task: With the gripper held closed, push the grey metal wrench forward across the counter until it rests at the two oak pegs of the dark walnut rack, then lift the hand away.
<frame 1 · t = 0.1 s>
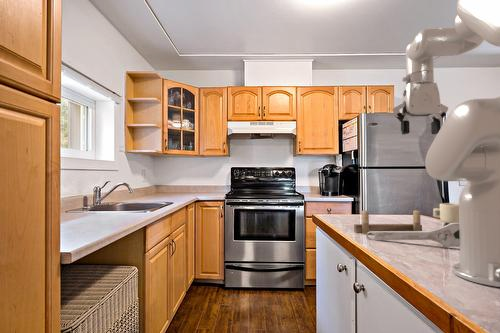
hand: (420, 133, 88), 37 cm above the table, tool pointing down, fingers open, 9 cm apart
character mug: (452, 242, 94), on the table
wrench: (413, 245, 92), on the table
peg rack: (389, 232, 109), on the table
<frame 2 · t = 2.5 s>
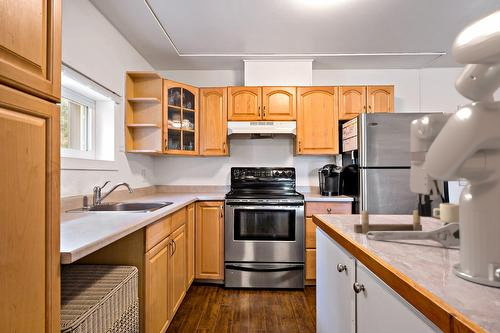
hand: (424, 216, 86), 10 cm above the table, tool pointing down, fingers closed
nothing on the table moved.
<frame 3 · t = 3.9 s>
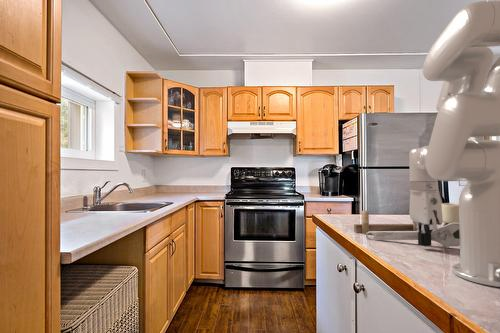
hand: (424, 245, 86), 1 cm above the table, tool pointing down, fingers closed
nothing on the table moved.
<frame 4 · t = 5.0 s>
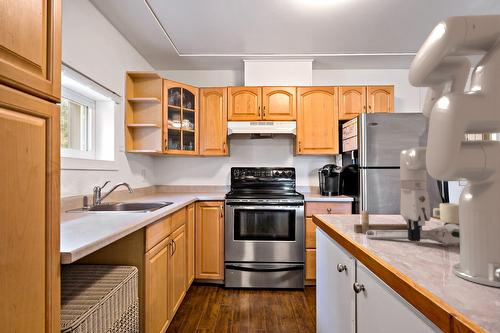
hand: (414, 240, 92), 1 cm above the table, tool pointing down, fingers closed
character mug: (452, 242, 94), on the table, touching wrench
wrench: (412, 242, 93), on the table, touching character mug, gripper
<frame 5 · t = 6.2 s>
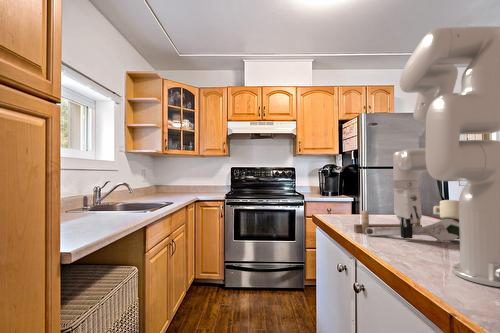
hand: (406, 237, 96), 1 cm above the table, tool pointing down, fingers closed
character mug: (452, 239, 95), point 1 cm above the table
wrench: (410, 240, 97), on the table, touching gripper
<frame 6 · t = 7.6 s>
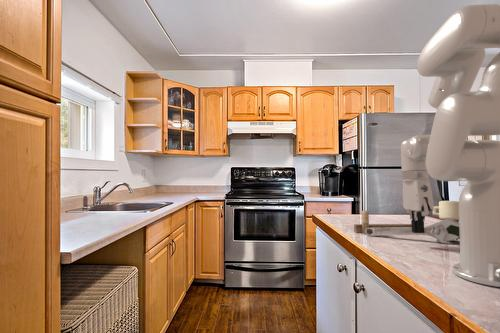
hand: (418, 232, 89), 4 cm above the table, tool pointing down, fingers closed
wrench: (409, 240, 97), on the table
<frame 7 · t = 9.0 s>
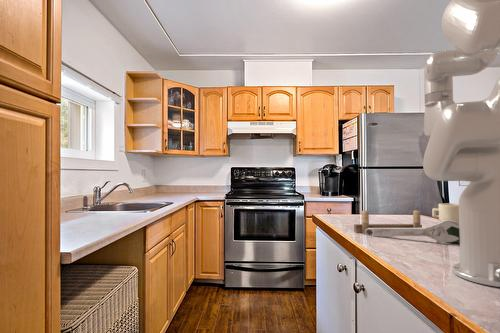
hand: (439, 156, 87), 29 cm above the table, tool pointing down, fingers closed
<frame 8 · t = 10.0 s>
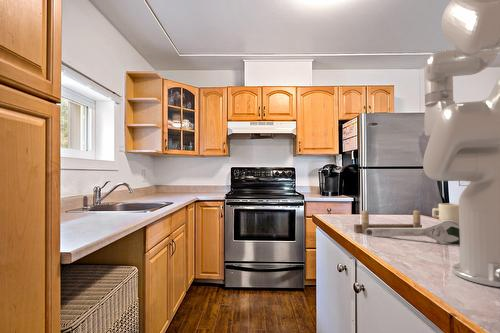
hand: (440, 156, 87), 29 cm above the table, tool pointing down, fingers closed
at the end: wrench moved 5.8 cm from its start; wrench inside the target area (6.1 cm from its centre), on the table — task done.
